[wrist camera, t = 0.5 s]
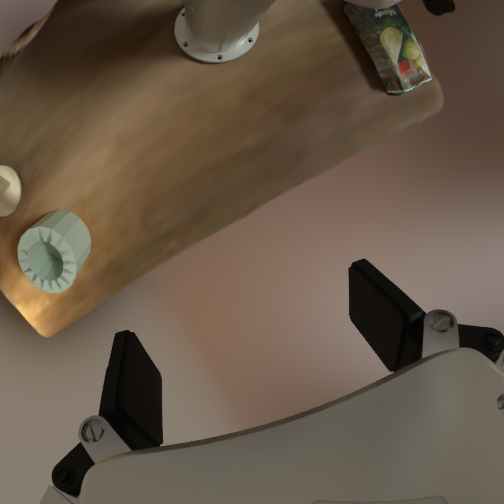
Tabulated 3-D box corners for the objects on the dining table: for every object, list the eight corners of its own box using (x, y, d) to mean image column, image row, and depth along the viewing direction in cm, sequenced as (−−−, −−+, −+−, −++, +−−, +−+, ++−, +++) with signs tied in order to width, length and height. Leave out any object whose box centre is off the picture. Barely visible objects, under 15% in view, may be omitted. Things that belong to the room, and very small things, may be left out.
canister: (31, 217, 38) (9, 234, 31) (81, 203, 39) (63, 220, 32) (49, 272, 42) (33, 296, 35) (98, 263, 44) (85, 288, 37)
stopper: (5, 153, 32) (-21, 162, 24) (36, 174, 35) (12, 186, 28) (-8, 195, 33) (-33, 209, 26) (21, 216, 37) (-2, 234, 30)
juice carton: (418, 83, 42) (439, 82, 36) (387, 98, 42) (408, 98, 37) (372, -3, 32) (390, -12, 27) (336, 6, 33) (353, -5, 28)
